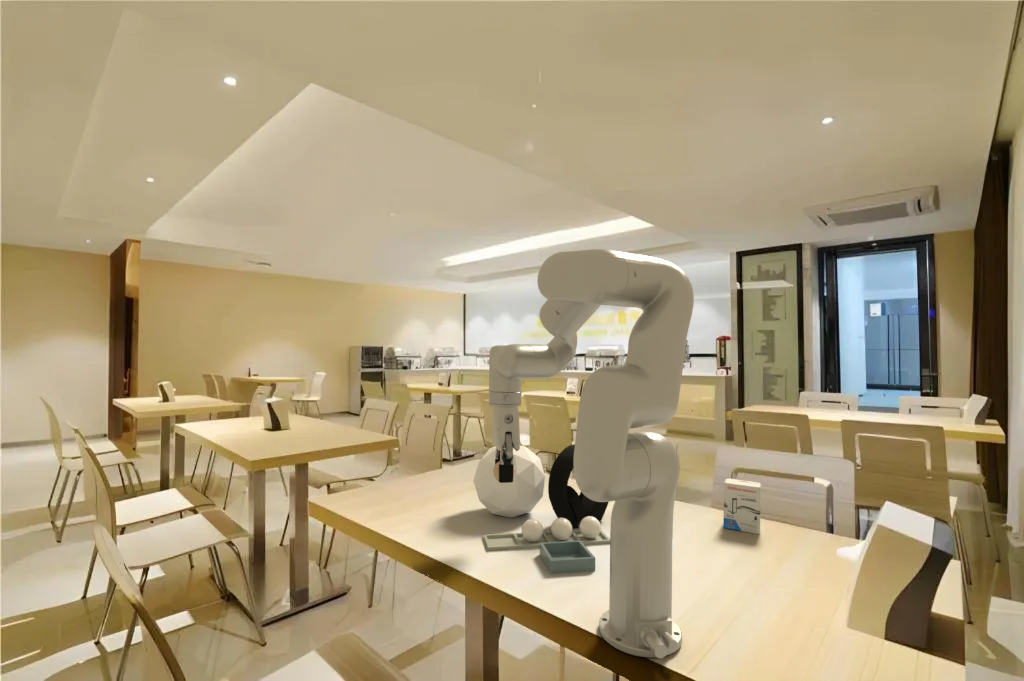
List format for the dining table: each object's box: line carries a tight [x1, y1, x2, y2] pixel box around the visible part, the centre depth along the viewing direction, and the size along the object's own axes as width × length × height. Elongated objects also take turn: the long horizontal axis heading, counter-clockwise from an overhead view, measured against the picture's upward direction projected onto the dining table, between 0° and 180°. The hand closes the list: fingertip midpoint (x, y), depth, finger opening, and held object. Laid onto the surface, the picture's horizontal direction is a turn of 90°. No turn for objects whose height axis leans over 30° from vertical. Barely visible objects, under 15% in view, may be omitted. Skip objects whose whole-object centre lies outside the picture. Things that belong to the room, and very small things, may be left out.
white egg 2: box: [550, 518, 573, 540], centre depth 114 cm, size 5×5×5 cm
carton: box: [481, 529, 610, 553], centre depth 114 cm, size 9×29×1 cm, turn 101°
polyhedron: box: [473, 445, 546, 518], centre depth 134 cm, size 19×20×20 cm
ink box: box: [722, 477, 762, 535], centre depth 125 cm, size 9×5×12 cm, turn 62°
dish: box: [539, 541, 596, 575], centre depth 102 cm, size 9×9×3 cm
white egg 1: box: [521, 518, 544, 542], centre depth 113 cm, size 5×5×5 cm
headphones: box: [547, 443, 610, 529], centre depth 127 cm, size 19×7×20 cm, turn 129°
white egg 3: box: [579, 516, 602, 539], centre depth 116 cm, size 5×5×5 cm
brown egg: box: [493, 461, 515, 481], centre depth 112 cm, size 5×5×5 cm
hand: (503, 478), depth 112 cm, fingers closed on brown egg, 4 cm apart
